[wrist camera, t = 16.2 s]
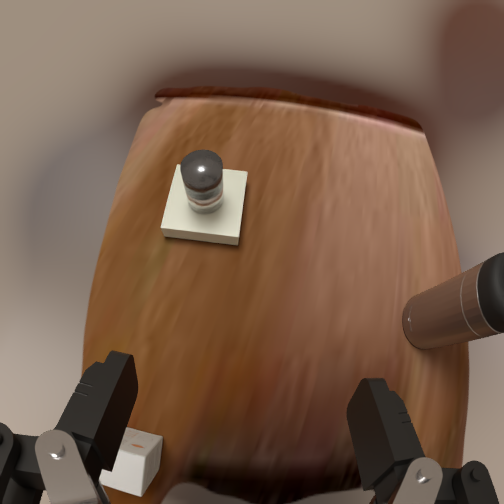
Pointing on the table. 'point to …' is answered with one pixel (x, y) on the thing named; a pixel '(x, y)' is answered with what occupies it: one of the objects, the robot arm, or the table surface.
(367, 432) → the robot arm
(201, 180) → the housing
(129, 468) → the small box
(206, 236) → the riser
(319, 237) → the table surface
